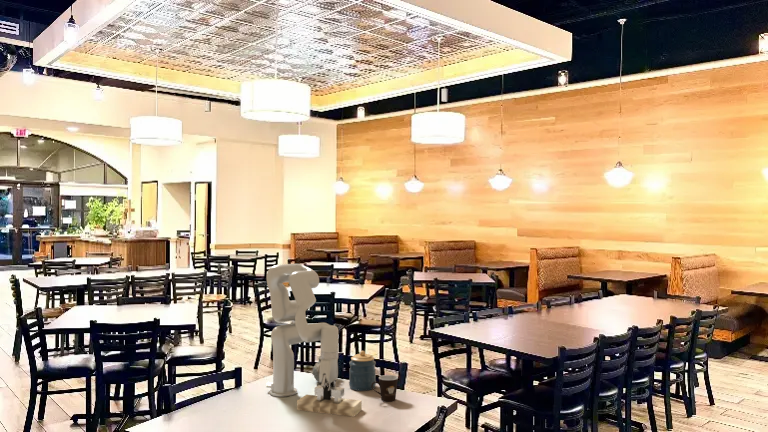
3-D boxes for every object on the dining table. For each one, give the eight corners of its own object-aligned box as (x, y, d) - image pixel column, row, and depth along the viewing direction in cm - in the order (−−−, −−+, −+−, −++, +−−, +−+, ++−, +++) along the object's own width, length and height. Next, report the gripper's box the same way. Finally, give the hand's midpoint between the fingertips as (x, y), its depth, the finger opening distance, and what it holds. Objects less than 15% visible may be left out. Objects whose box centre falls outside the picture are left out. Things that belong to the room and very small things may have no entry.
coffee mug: (398, 397, 266) (398, 375, 266) (397, 403, 257) (397, 380, 258) (373, 396, 267) (373, 374, 267) (371, 402, 259) (371, 379, 259)
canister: (360, 392, 272) (360, 355, 273) (343, 387, 282) (343, 350, 282) (381, 387, 281) (381, 351, 281) (364, 381, 291) (364, 346, 291)
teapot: (329, 388, 280) (329, 356, 280) (306, 386, 282) (306, 355, 282) (341, 376, 301) (341, 347, 301) (319, 375, 303) (320, 346, 303)
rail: (297, 409, 248) (297, 400, 248) (306, 403, 257) (306, 394, 257) (353, 416, 240) (353, 406, 240) (361, 409, 248) (361, 400, 248)
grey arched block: (314, 406, 248) (314, 387, 248) (318, 403, 252) (318, 385, 252) (340, 409, 244) (340, 390, 244) (344, 406, 248) (344, 387, 248)
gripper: (329, 350, 257) (329, 391, 257) (312, 358, 242) (312, 403, 241) (345, 351, 255) (344, 393, 255) (329, 360, 239) (329, 404, 239)
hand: (329, 397), depth 248 cm, fingers closed on grey arched block, 3 cm apart
